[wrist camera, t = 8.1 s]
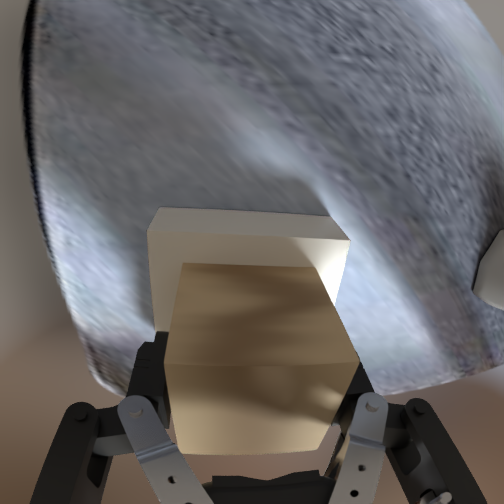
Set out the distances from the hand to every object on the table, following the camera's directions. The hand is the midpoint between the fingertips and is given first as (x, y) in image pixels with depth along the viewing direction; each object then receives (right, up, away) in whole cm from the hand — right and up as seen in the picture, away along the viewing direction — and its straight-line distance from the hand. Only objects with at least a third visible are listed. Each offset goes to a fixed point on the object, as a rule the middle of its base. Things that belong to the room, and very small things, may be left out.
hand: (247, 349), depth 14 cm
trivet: (0, +2, +5) cm, 5 cm away
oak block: (0, +1, +2) cm, 2 cm away
